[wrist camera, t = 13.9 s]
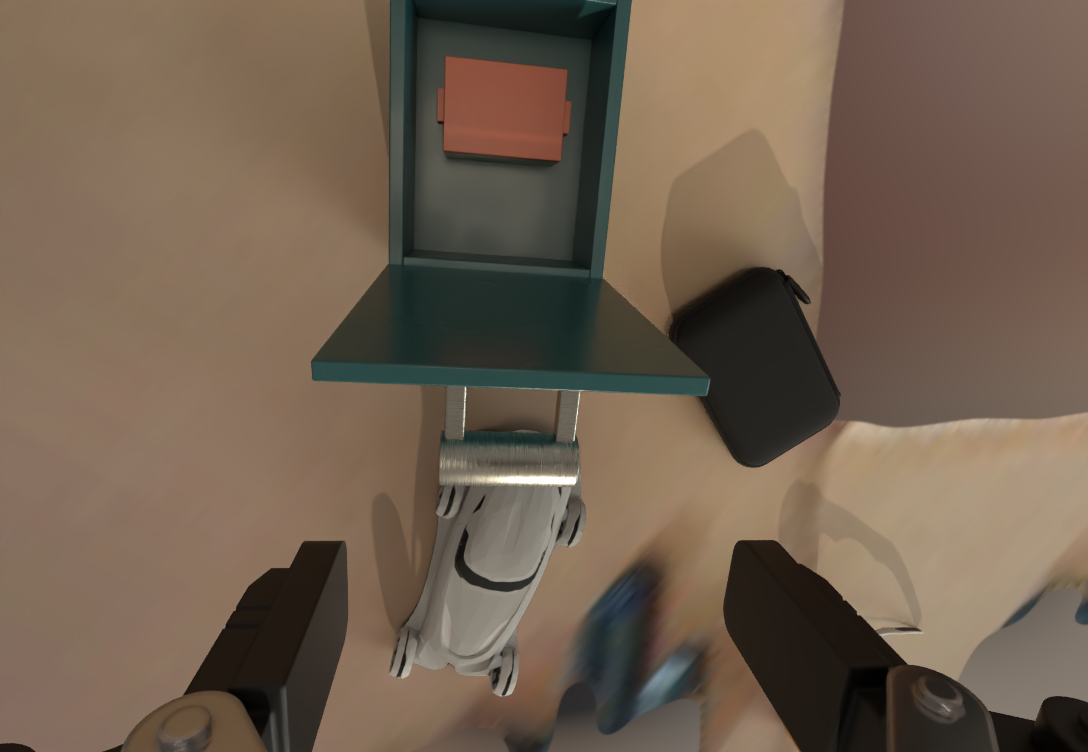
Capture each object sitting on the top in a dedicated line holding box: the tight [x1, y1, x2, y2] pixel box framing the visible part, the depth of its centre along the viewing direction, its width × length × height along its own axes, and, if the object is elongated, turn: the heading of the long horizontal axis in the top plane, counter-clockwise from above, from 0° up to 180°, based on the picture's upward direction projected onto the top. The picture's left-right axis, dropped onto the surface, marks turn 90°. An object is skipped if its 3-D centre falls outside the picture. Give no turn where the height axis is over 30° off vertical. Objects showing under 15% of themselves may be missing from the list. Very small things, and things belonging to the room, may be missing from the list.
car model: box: [389, 430, 586, 696], centre depth 44 cm, size 11×24×5 cm, turn 161°
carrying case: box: [669, 267, 841, 468], centre depth 43 cm, size 11×3×15 cm
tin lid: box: [311, 264, 710, 487], centre depth 26 cm, size 16×13×5 cm
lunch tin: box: [389, 0, 632, 279], centre depth 35 cm, size 16×13×7 cm
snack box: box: [437, 56, 571, 167], centre depth 35 cm, size 8×5×4 cm, turn 86°
